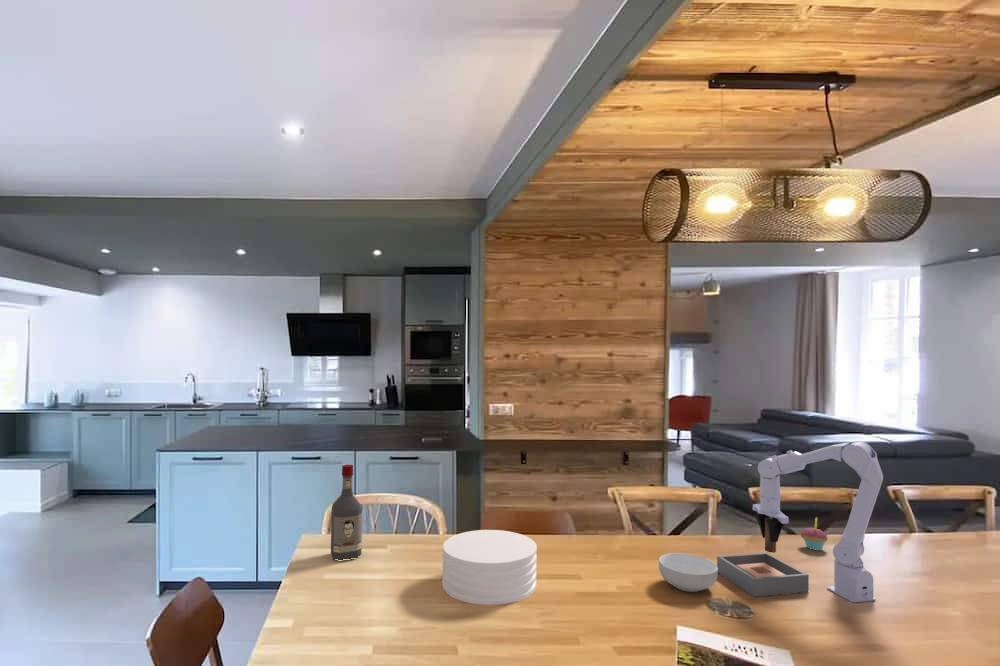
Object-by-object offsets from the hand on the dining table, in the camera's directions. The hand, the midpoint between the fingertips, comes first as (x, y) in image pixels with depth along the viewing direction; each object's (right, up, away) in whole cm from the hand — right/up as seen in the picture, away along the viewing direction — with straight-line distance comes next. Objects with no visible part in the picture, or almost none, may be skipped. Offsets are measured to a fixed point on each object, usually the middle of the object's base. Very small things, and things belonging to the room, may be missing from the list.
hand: (770, 539), depth 177 cm
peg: (0, -4, 0) cm, 4 cm away
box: (-6, -10, -7) cm, 14 cm away
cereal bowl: (-30, -10, -11) cm, 34 cm away
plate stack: (-89, -9, -11) cm, 90 cm away
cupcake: (+26, -12, +22) cm, 36 cm away
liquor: (-137, -9, +9) cm, 138 cm away
